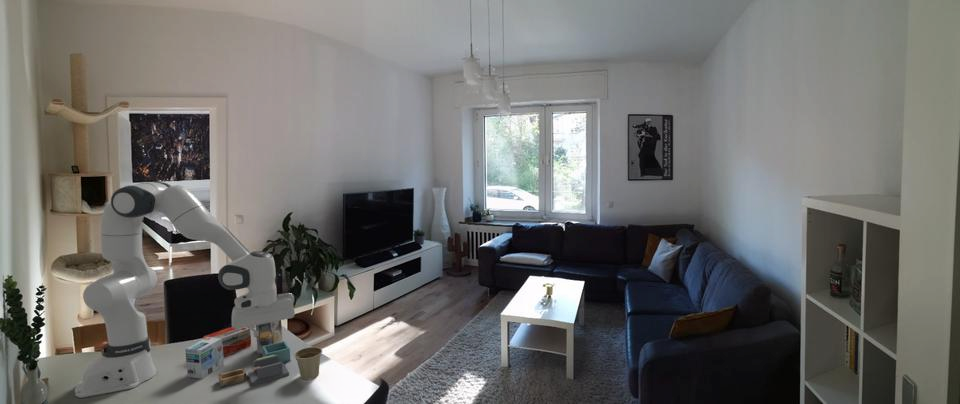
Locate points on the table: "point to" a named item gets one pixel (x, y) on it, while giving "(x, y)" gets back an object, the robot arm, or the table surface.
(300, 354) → the flower pot
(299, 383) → the table surface
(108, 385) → the robot arm
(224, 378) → the trough
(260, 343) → the cell
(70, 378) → the table surface
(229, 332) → the medicine box
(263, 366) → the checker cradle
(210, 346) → the light bulb box
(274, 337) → the coffee box
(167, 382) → the table surface
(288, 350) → the cup
